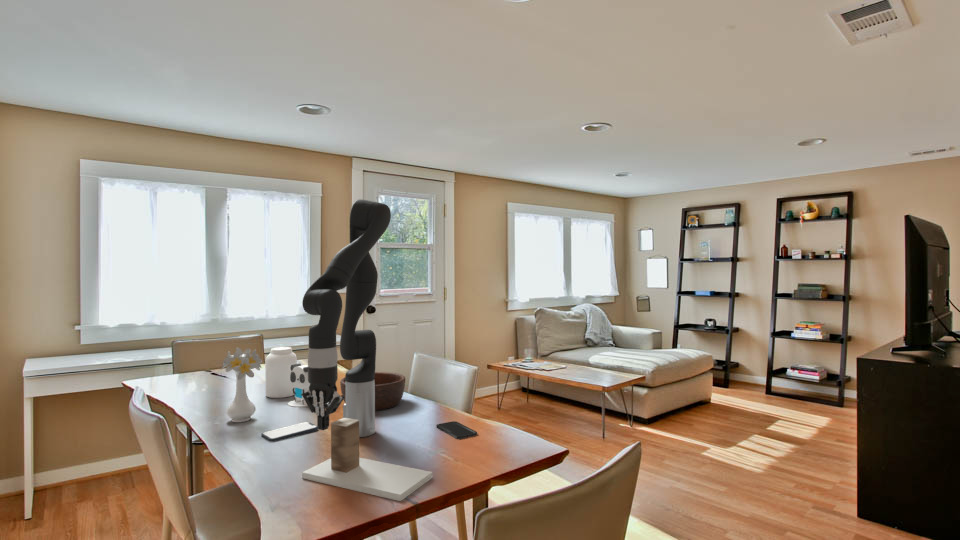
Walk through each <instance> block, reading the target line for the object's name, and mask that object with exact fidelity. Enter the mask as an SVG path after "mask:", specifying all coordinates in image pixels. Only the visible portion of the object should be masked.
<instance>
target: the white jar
mask: <svg viewBox="0 0 960 540" xmlns="http://www.w3.org/2000/svg"><path fill="white" fill-rule="evenodd" d="M269 351H270V352H269V354H268V355H266V358H265V362H264V363H265V364H264V365H265V368H264V369H265V396H266V397H267V398H270V399H281V398H282V399H283V398H284V399H285V398H288V397H292V396H295V394H294V393H293V388H294V387H293V385H292V382H291V380H290V375H291V372H292V371H291V369H290V367H291V365H293V364H298V357H297V354H296V353H295V352H293V348H292V347H291V346H278V347H277V346H276V347H272V348H271V349H270V350H269Z"/></svg>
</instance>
